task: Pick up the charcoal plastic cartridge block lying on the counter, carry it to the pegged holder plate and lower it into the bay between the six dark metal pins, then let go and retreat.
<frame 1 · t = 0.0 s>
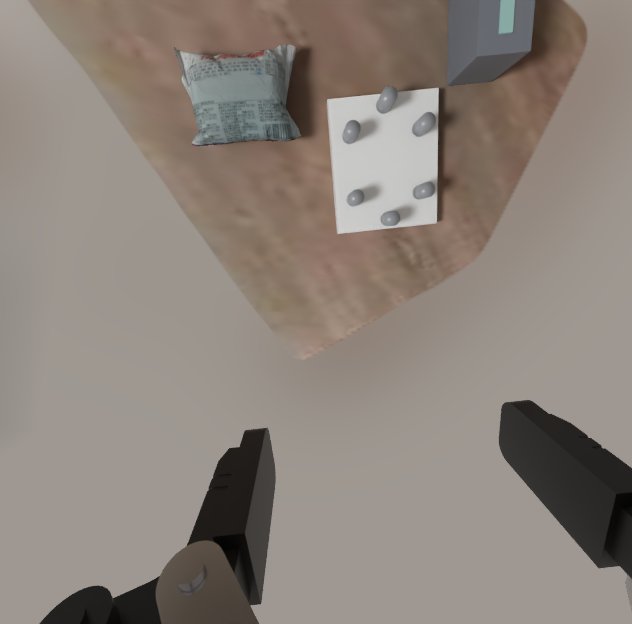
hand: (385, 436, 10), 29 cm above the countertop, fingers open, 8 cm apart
pegged holder plate: (382, 167, 35), on the countertop
packaged food: (245, 104, 33), on the countertop
cartridge: (470, 35, 31), on the countertop
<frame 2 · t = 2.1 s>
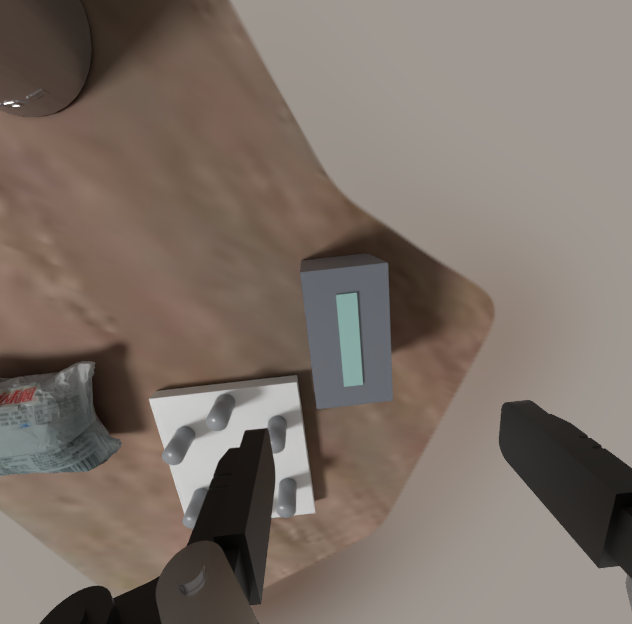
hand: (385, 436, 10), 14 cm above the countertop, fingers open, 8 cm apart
pegged holder plate: (241, 450, 27), on the countertop
packaged food: (52, 398, 25), on the countertop
cartridge: (338, 312, 24), on the countertop
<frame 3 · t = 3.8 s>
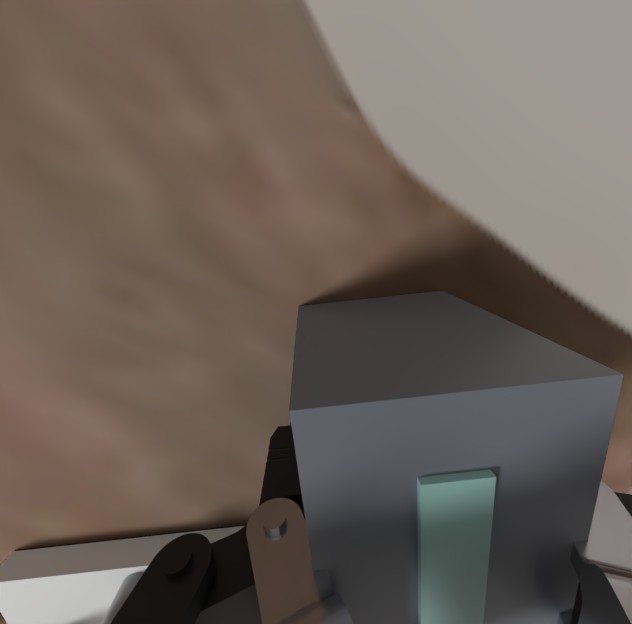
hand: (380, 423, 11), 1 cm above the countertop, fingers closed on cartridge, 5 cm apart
cartridge: (376, 410, 11), on the countertop, touching gripper
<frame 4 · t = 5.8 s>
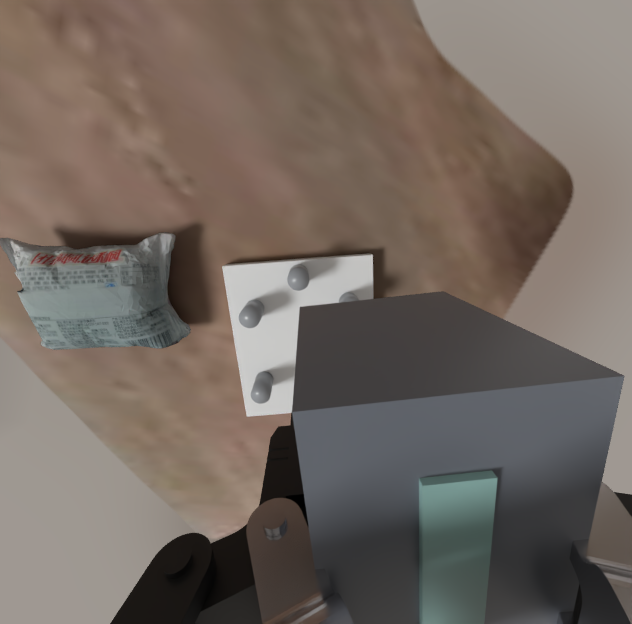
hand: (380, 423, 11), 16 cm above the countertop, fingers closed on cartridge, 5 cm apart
pegged holder plate: (304, 336, 26), on the countertop
packaged food: (121, 284, 25), on the countertop
cartridge: (377, 411, 11), point 15 cm above the countertop, touching gripper
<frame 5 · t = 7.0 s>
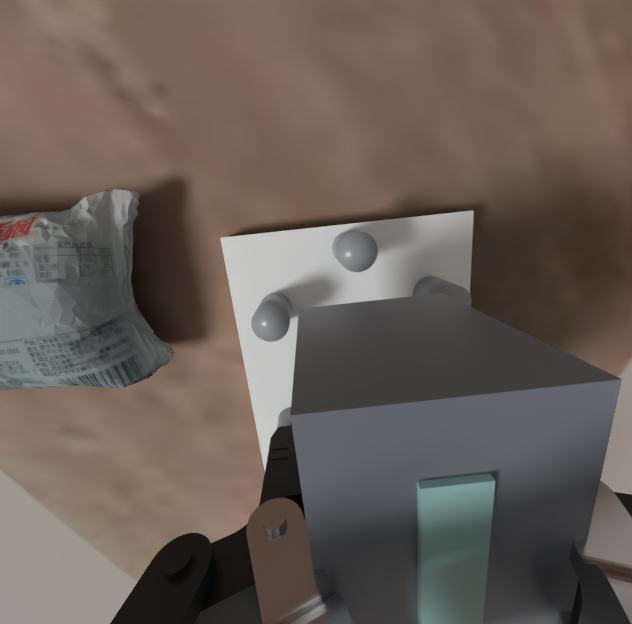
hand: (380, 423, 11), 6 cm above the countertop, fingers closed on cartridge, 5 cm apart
pegged holder plate: (353, 350, 17), on the countertop
packaged food: (62, 282, 16), on the countertop
cartridge: (376, 412, 11), point 6 cm above the countertop, touching gripper
when the fingers open (3 cm above the countertop, at t = 8.1 s): cartridge drops 1 cm, resting on pegged holder plate.
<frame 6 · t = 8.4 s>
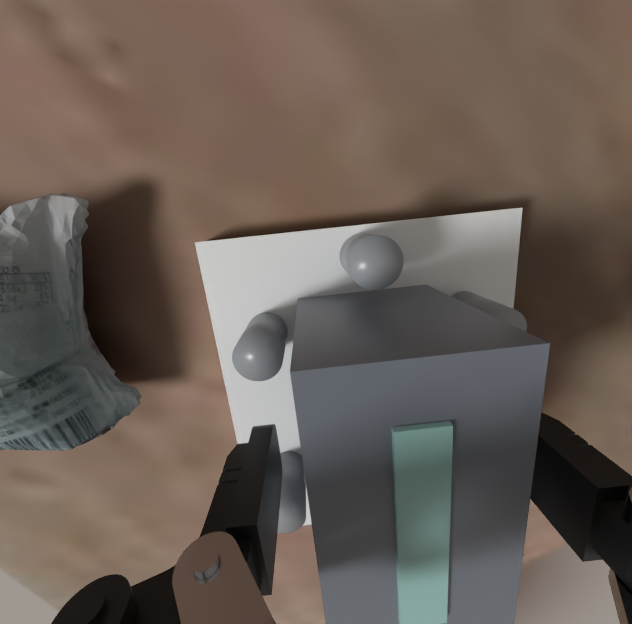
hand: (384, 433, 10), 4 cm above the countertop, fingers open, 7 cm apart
pegged holder plate: (363, 379, 14), on the countertop
packaged food: (4, 308, 13), on the countertop
cartridge: (368, 393, 13), point 1 cm above the countertop, touching pegged holder plate
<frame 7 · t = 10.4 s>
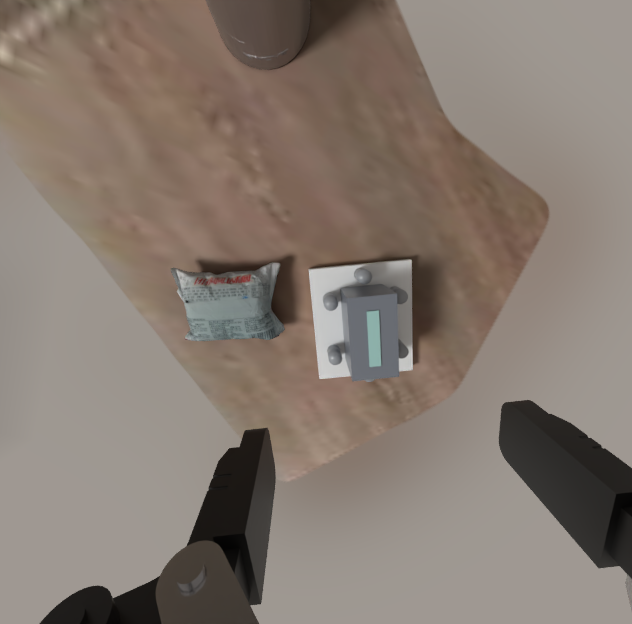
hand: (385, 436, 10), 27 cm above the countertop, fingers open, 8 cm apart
pegged holder plate: (361, 319, 37), on the countertop
packaged food: (235, 296, 36), on the countertop
cartridge: (363, 322, 36), point 1 cm above the countertop, touching pegged holder plate
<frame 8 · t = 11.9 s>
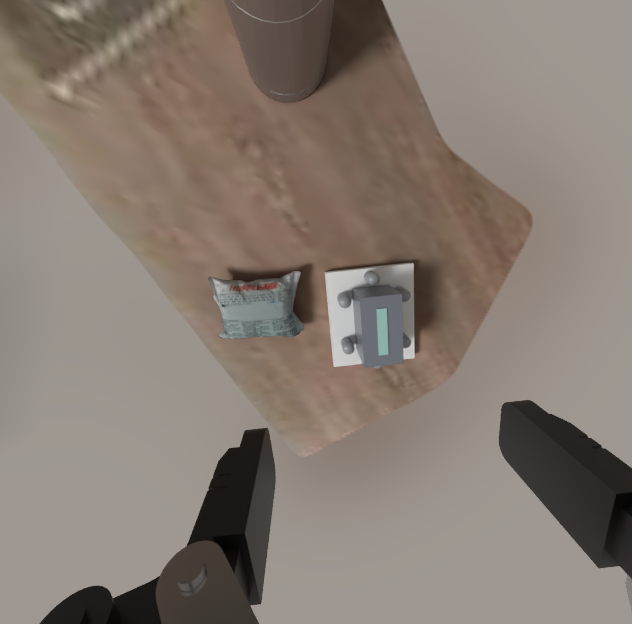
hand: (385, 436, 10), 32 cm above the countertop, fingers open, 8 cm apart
pegged holder plate: (370, 315, 43), on the countertop
packaged food: (260, 299, 42), on the countertop
cartridge: (371, 317, 41), point 1 cm above the countertop, touching pegged holder plate
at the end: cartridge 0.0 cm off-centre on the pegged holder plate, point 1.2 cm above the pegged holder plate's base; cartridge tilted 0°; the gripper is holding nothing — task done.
